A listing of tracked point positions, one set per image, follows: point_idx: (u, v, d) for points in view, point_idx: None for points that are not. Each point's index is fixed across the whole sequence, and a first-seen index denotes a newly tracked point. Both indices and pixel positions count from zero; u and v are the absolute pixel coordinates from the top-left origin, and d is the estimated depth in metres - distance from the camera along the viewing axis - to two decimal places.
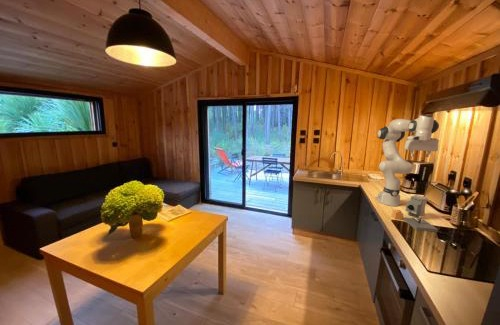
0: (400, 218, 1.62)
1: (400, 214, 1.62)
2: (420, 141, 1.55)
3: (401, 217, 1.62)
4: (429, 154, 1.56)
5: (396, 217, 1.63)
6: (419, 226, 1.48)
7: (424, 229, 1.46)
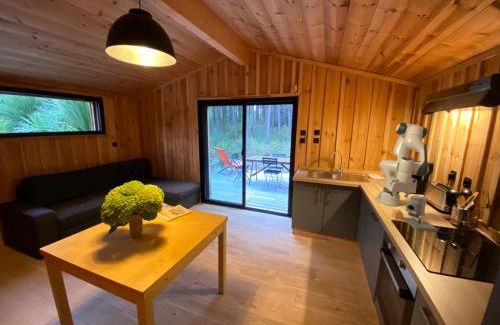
0: (400, 218, 1.62)
1: (400, 214, 1.62)
2: None
3: (401, 217, 1.62)
4: (393, 194, 1.62)
5: (396, 217, 1.63)
6: (419, 226, 1.48)
7: (424, 229, 1.46)
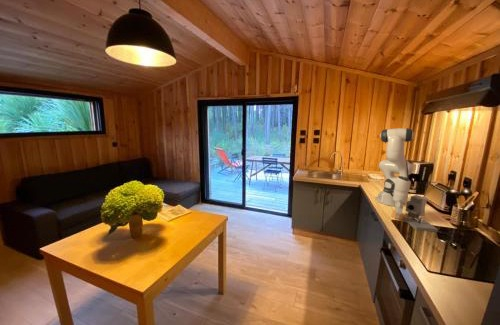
0: (400, 218, 1.62)
1: (400, 214, 1.62)
2: None
3: (401, 217, 1.62)
4: (396, 214, 1.61)
5: None
6: (419, 226, 1.48)
7: (424, 229, 1.46)
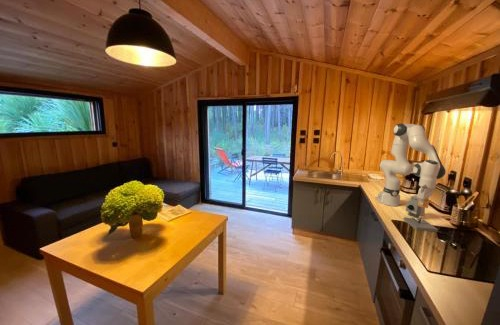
0: (425, 206, 1.49)
1: (425, 201, 1.48)
2: None
3: (426, 205, 1.48)
4: (420, 201, 1.49)
5: (420, 204, 1.50)
6: (419, 226, 1.48)
7: (424, 229, 1.46)
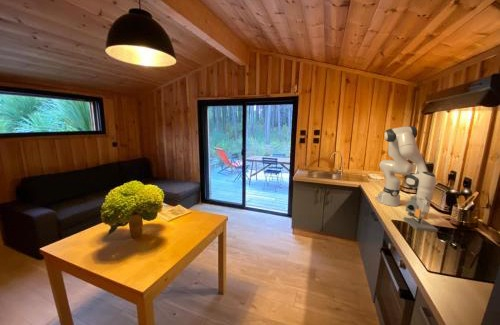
0: (424, 217, 1.50)
1: None
2: None
3: (425, 216, 1.50)
4: (421, 213, 1.48)
5: (420, 216, 1.50)
6: (419, 226, 1.48)
7: (424, 229, 1.46)
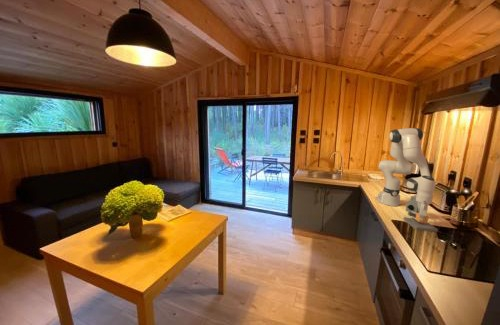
0: (425, 221, 1.50)
1: (425, 217, 1.50)
2: None
3: (426, 220, 1.50)
4: (419, 217, 1.49)
5: (420, 220, 1.51)
6: (419, 226, 1.48)
7: (424, 229, 1.46)
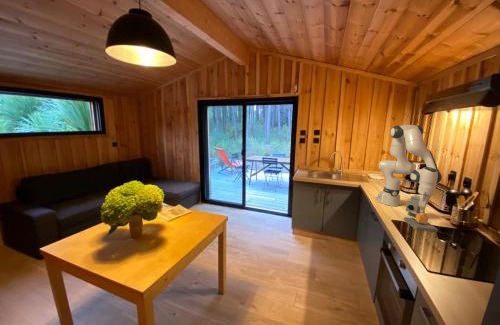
0: (425, 222, 1.50)
1: (425, 217, 1.50)
2: None
3: (426, 221, 1.50)
4: (420, 208, 1.49)
5: (420, 220, 1.51)
6: (419, 226, 1.48)
7: (424, 229, 1.46)
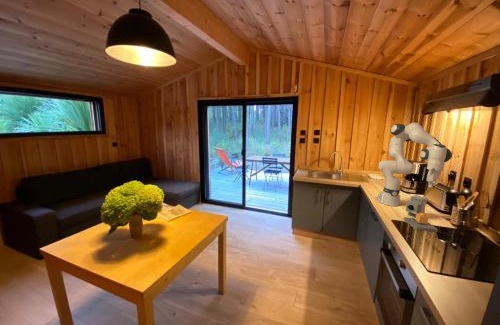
0: (425, 222, 1.50)
1: (425, 217, 1.50)
2: None
3: (426, 221, 1.50)
4: (428, 184, 1.53)
5: (420, 220, 1.51)
6: (419, 226, 1.48)
7: (424, 229, 1.46)
